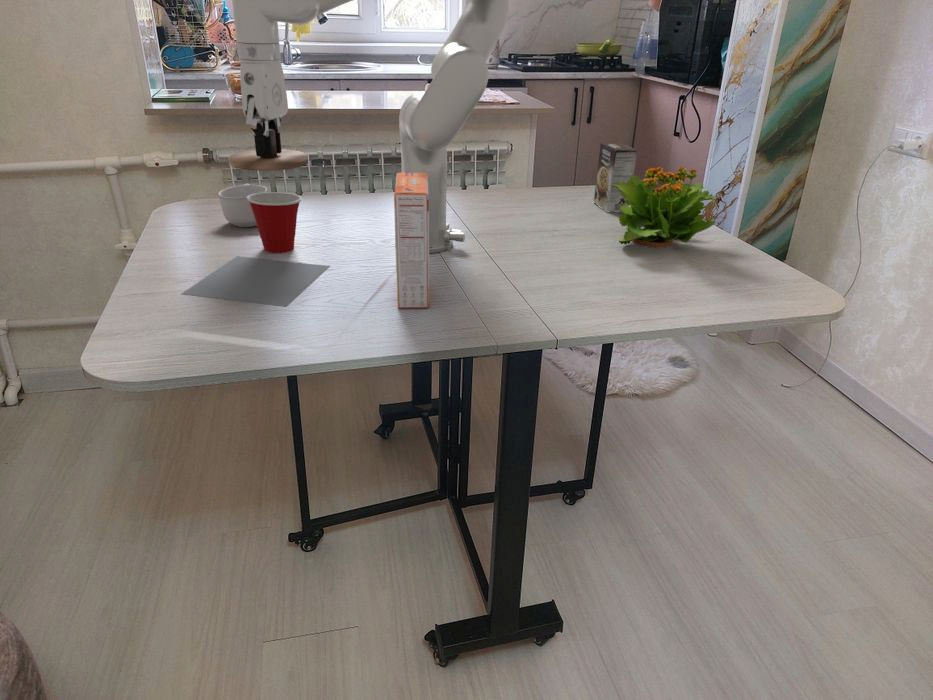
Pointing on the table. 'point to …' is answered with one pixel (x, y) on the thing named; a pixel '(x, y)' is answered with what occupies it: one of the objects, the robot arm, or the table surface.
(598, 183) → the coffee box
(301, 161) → the lid
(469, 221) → the table surface
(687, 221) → the potted flower
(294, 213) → the plastic cup
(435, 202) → the robot arm
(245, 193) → the teacup
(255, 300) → the mat
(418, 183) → the cracker box
